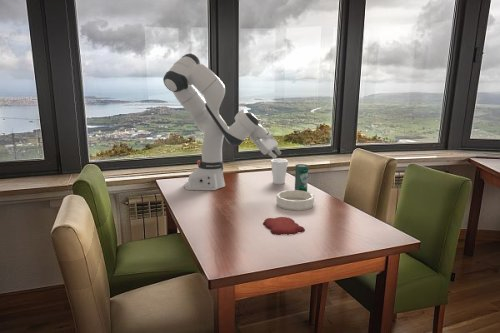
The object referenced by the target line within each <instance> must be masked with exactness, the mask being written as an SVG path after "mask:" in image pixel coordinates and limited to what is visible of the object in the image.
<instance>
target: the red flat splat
mask: <svg viewBox="0 0 500 333" xmlns="http://www.w3.org/2000/svg"><path fill="white" fill-rule="evenodd" d="M262 225H263V226H264V227H265V228H266V229H267V230H270V233H271V234H272V235H275V234H276V235H277V236H280V235H281V234H282V235H284V234H287V235H286V236H290V235H289V234H293V235H296V234H298V232H301V233H304V232H305V227H303V226H301V225H299V224H298V223H297V222H295V220H294V219H293V218H290V217H287V216H279V217H278V216H277V217H274V218H273V217H267V218H265V219H264V221H263V222H262ZM276 235H275V236H276Z"/></svg>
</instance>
